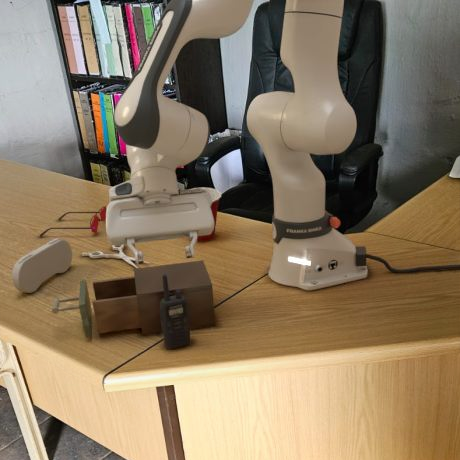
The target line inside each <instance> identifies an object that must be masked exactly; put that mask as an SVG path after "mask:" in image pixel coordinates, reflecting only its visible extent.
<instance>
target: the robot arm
mask: <svg viewBox="0 0 460 460" xmlns="http://www.w3.org/2000/svg"><path fill="white" fill-rule="evenodd" d="M254 1H255V0H170V1H169V2H168V3H167V5H166V6H165V8H164V10H163V11H162V14H161V15H160V17H159V19H158V21H157V23H156V26H155V27H154V30H153V32H152V34H151V36H150V38H149V40H148V41H147V44H146V46H145V48H144V51H143V54H142V55H141V57H140V60H139V62H138V64H137V66H136V68H135V71H134V73H133V74H132V77H131V79H130V81H129V82H128V84H127V85H126V87H125V89H124V90H123V91H122V93H121V94H120V96H119V97H118V100H117V102H116V104H115V106H114V109H113V123H114V127H115V130H116V132H117V134H118V136H119V138H120V139H121V141H122V142H123V143H124V144H125V149H126V158H127V163H128V166H129V168H130V177H129V178H130V179H129V180H126V181H123V182H121V183H119V184H116V185H114V186H112V187H110V188H109V190H108V201H109V203H108V205H106V209H107V210H106V221H105V234H106V239H107V242H108V243H109V244H110V245H111V246H112V245H122V244H124V245H126V246H127V249H128V252H130V253H131V254H132V256H134V258H135V260H134V261H135V265H141V264H144V263H145V262H144V261H145V260H144V255H143V251H138V250H137V249H136V244H138V243H149V242H156V241H167V240H174V239H175V240H176V239H184V238H185V239H186V238H188V239H189V242H190V244H189V245H188V246H185V247H184V251H185V258H186V259H193V258H195V250H194V249H195V247H196V245H197V242H198V241H197V237H198V236H204V235H210V234H211V233H212V232H213V230H214V218H213V214H212V211H211V208H210V207H211V205H212V200H211V195H210V193H209V192H207V191H205V190H202V188H203V187H195V188H196V189H193V188H188V189H187V188H186V189H179V184H178V178H177V174H176V173H177V172H176V169H177V168H182V167H185V166H187V165H189V164H191V163H192V162H194V161H196V160H197V159H199V158H200V157H201V156H202V155H204V153H205V152H206V150H207V148H208V147H209V142H210V138H211V128H210V124H209V121H208V118H207V116H206V115H205V113H203V112H201V111H199V110H197V109H195V108H193V107H191V106H188V105H186V104H185V103H181V102H179V101H176V100H175V99H172V98H170V97H167V96H165V95H164V94H163V88H164V86H165V84H166V82H167V79H168V77H169V75H170V73H171V71H172V69H173V67H174V64H175V62H176V60H177V58H178V55H179V54H180V52H181V50H182V48H183V47H184V46H185V45H186V44H188V43H189V42H190V41H192V40H196V39H224V38H227V37H230V36H232V35H234V34H236V33H238V31H240V30H241V29H242V28H243V26H244V25H245V24H246V22H247V20H248V18H249V15H250V14H251V11H252V8H253V5H254ZM344 4H345V0H286V1H285V8H284V16H283V25H282V32H281V42H280V51H279V54H280V55H279V56H280V59H281V62H282V64H283V65H284V66H285V67H286V68H287V69H288V70H289V72H290V74H291V76H292V80H293V87H294V92H292V91H283V90H279V91H278V90H276V91H269V92H265V93H260V94H259V95H257V96H255V98H253V100H252V101H251V102H250V103H249V104H250V105H249V106H248V109H247V113H246V126H247V130H248V132H249V134H250V135H251V137H253V139H254V140H255V141H256V143H258V145H259V147H260V148H261V150H262V153H263V155H264V158H265V160H266V162H267V165H268V168H269V172H270V175H271V183H272V193H273V211H274V212H273V214H272V218H271V235H272V236H271V237H272V240H273V247H272V255H271V262H270V266H269V270H268V273H267V274H268V278H270V279H271V280H272V281H273V282H276V283H277V284H280V285H283V286H288V287H296V288H300V289H301V290H305V291H314V290H319V289H323V288H329V287H332V286H336V285H341V284H344V283H345V284H346V283H350V282H354V281H358V280H362V279H366V278H368V276H369V275H368V274H369V270H368V267H367V259H370V260H373V261H377V262H380V263H382V264H383V265H384V266H385V268H386V269H387V270H388V271H390V272H391V273H394V274H408V273H409V274H410V273H415V272H422V271H423V272H424V271H425V272H426V271H440V270H441V271H442V270H458V269H460V264H446V265H445V264H444V265H430V266H417V267H411V268H404V269H397V268H394V267H392V266H391V265H390V264H389V263H388V261H387V260H385V259H384V258H382V257H380V256H376V255H372V254H368V253H367V247H366V246H361V245H360V246H355V244H354V243H353V241H352V240H350V238H348V237H347V236H345V235H344V234H342V233H341V232H339V230H337V229H338V228H339V227H340V226H341V220H340V219H339V218H338V217H337V216H334V215H333V214H331V212H328V211H327V210H326V179H325V176H324V174H323V173H322V171H321V170H320V169H319V168H318V167H317V166H316V164H315V163H314V161H313V159H312V157H311V155H316V156H326V155H328V156H329V155H330V156H331V155H339V154H342V153H343V152H345V151H346V150H347V149H348V148H349V147H350V145H351V144H352V142H353V140H354V139H355V137H356V133H357V126H358V125H357V124H358V123H357V117H356V113H355V110H354V109H353V107H352V106H351V104H350V103H349V102H348V100H347V99H346V97H345V95H344V93H343V89H342V87H341V83H340V79H339V78H340V77H339V72H338V53H339V45H340V38H341V37H340V36H341V28H342V21H343V13H344ZM202 192H205V193H202Z"/></svg>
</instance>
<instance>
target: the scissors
mask: <svg viewBox="0 0 460 460" xmlns="http://www.w3.org/2000/svg"><path fill="white" fill-rule="evenodd" d="M111 247H112V248H111V249H112V250H113V251H119V253H112V254H107V253H104V252H103V251H99V250H98V251H91V252H82V253H81V256H83V257H89V258H91V259H101V258H107V259H108V258H114V259H122V260H123V261H125V262H126V263H127V264H129V265H131V266H133V267H134V268H135V269H136V268H139V267H138V266H137V264H136V263H134V262H133V261H135V257H132V256H131V257H130V256H128V255H127V254H125V253H124V251H123V250H124V249H125V244H122V245H112V244H111ZM143 261H144V263H146V264H147V263H148V264H150V262H149V261H145V260H143Z"/></svg>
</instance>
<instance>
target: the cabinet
mask: <svg viewBox="0 0 460 460" xmlns="http://www.w3.org/2000/svg"><path fill="white" fill-rule="evenodd" d="M163 274H166V275H167V281H168V288H169V293H171V294H172V295H173V296H175V293H176V290H181V293H182V296H184V297H185V299H186V301H187V303H188V309H189V323H190V330H196V329H203V328H211V327H216V313H215V299H214V289H213V283H212V281H211V277H210V275H209V272H208V269H207V267H206V263H205V262H204V259H202V260H194V261H187V262H179V263H169V264H161V265H153V266H146V267H138V268H136V267H135V268H133V276H134V277H135V285H136V293H137V300H138V307H139V313H140V320H141V335H142V336H143V337H144V336H151V335H159V334H163V332H162V325H161V319H160V312H159V309H160V301H161V300H162V299H164V289H163V277H162V276H163Z"/></svg>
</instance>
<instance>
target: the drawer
mask: <svg viewBox="0 0 460 460" xmlns="http://www.w3.org/2000/svg"><path fill="white" fill-rule="evenodd" d="M79 282H80V283H79V295H78V296H71V297H64V298H59V297H57V296H56V297H54V298H53V301H52V308H51V312H52V314H55V315H57V314H58V313H59V312H64V311H65V312H66V311H72V310H79V313H80V318H81V323H82V327H83V333H84V338H85V339H88V338H92V337H93V336H92V334H93V333H92V332H93V313H94V318H95V319H94V320H95V325H96V330H97V333H98V334H103V333H110V332H118V331H125V330H126V331H127V330H133V329H139V328H140V329H142V327H141V320H140V313H139V307H138V300H137V293H136V285H135V277H134V275H133V276H125V277H124V276H123V277H117V278H110V279H100V280H93V281H92V288H93V292H94V293H93V294H94V298H95V300H92V304H91V299H90V294H89V288H88V284H87V280H86V279H83V280H80V281H79ZM76 301H78V304H76V305H68V306H67V305H66V306H61V307H60V303H66V302H67V303H69V302H76ZM92 308H93V309H92Z"/></svg>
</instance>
